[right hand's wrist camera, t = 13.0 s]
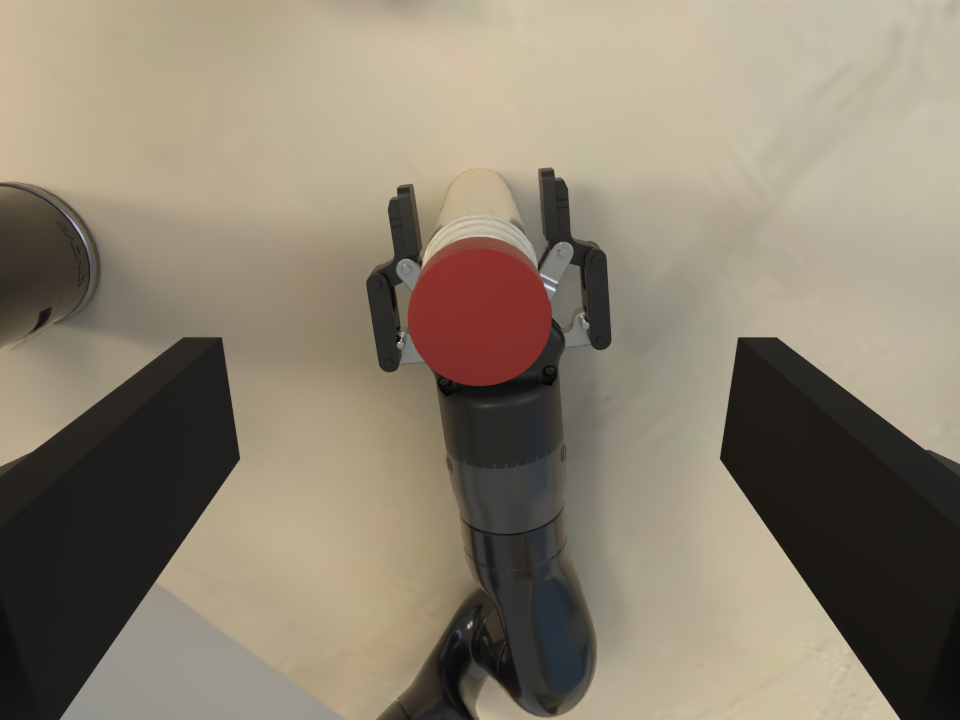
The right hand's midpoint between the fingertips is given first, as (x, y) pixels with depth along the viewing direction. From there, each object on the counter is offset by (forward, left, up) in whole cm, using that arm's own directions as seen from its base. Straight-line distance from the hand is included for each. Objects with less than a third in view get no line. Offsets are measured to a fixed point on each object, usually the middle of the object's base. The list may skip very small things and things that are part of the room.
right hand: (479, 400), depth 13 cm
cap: (0, 0, -6) cm, 6 cm away
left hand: (-1, +2, -25) cm, 25 cm away
